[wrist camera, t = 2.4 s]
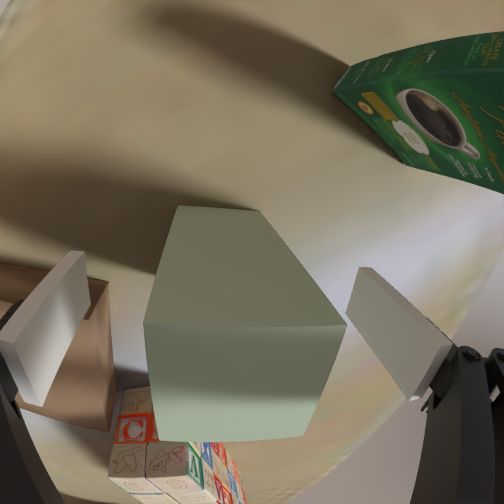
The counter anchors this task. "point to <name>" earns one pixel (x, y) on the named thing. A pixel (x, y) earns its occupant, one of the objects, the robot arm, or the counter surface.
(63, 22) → the counter surface
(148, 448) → the stack of blocks
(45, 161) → the counter surface
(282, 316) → the sage block
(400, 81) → the coffee box
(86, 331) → the walnut block
